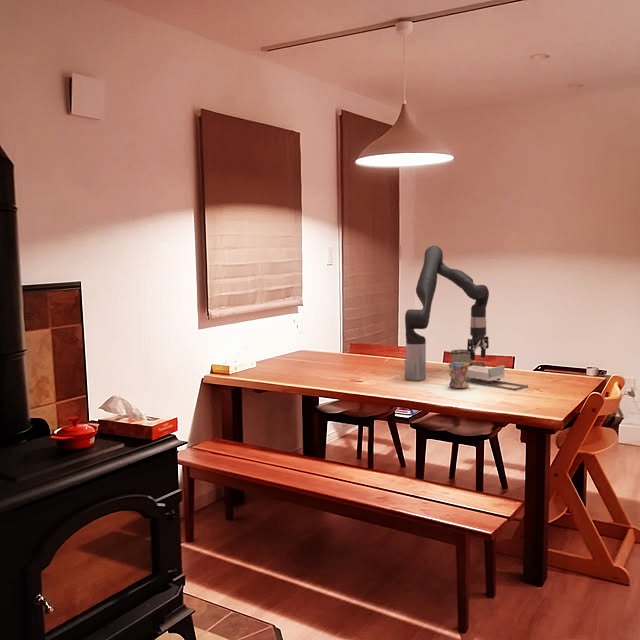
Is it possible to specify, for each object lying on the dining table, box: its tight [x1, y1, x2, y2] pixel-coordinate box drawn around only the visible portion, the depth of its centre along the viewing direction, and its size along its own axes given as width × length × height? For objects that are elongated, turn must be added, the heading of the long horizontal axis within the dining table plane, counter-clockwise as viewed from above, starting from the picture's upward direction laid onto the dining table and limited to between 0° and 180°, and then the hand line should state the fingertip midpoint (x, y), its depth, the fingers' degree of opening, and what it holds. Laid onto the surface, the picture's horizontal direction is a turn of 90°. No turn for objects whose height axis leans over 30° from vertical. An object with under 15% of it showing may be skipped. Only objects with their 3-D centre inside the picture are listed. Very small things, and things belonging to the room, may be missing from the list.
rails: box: [467, 377, 529, 391], centre depth 293 cm, size 10×32×1 cm, turn 40°
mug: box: [447, 361, 470, 389], centre depth 285 cm, size 12×9×11 cm
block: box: [472, 360, 486, 367], centre depth 314 cm, size 4×4×6 cm
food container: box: [449, 349, 474, 366], centre depth 328 cm, size 12×6×10 cm, turn 84°
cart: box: [467, 364, 506, 384], centre depth 296 cm, size 11×17×7 cm, turn 40°
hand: (477, 358), depth 315 cm, fingers open, 8 cm apart
